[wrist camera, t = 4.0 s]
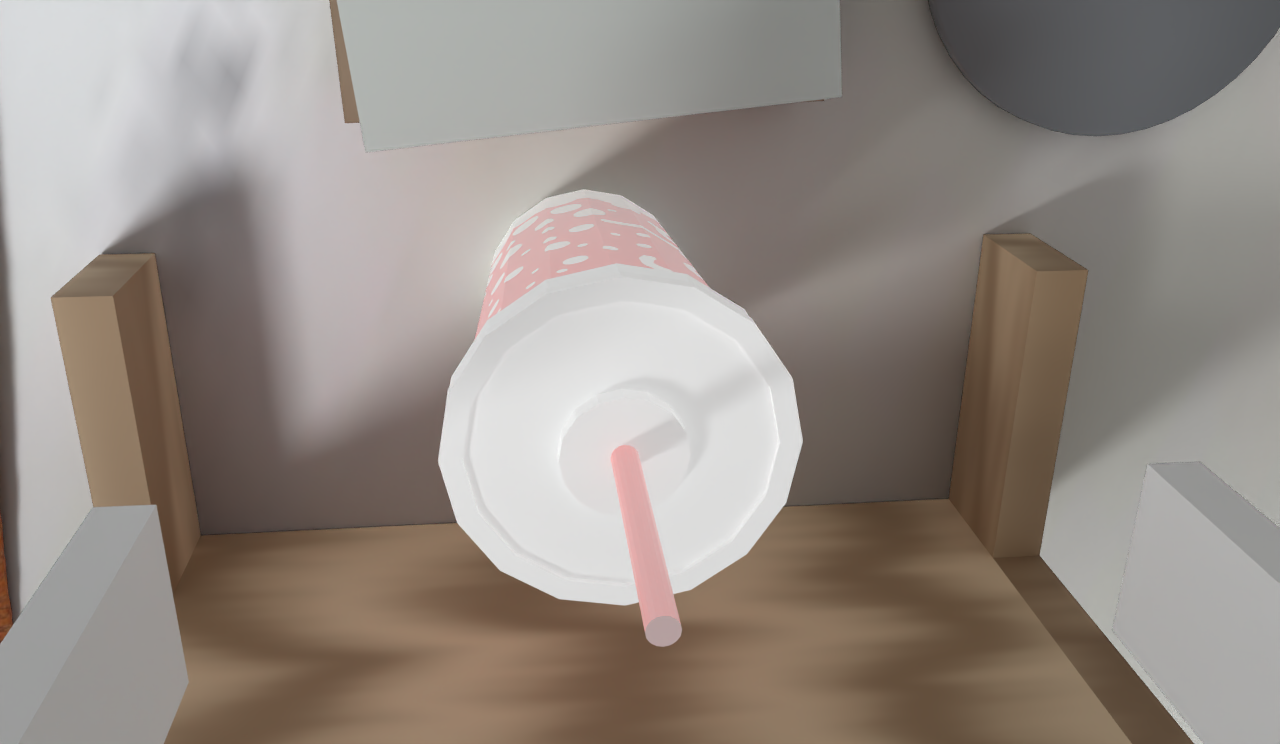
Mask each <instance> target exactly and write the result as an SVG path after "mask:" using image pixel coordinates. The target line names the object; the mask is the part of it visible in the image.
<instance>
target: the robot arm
mask: <svg viewBox="0 0 1280 744" xmlns="http://www.w3.org/2000/svg"><path fill="white" fill-rule="evenodd" d="M1112 631H1113V632H1114V633H1115V634H1116V636H1117V637H1118V638H1119V639H1120V641H1121V642H1122V643H1123V644H1124V646H1125V647H1126V648H1127V649H1128V651H1129V652H1130V653H1131V654H1132V656H1133V657H1134V658H1135V659H1136V660H1137V662H1138V663H1139V664H1140V665H1141V667H1142V668H1143V669H1144V670H1145V672H1146V673H1147V674H1148V675H1149V677H1150V678H1151V679H1152V680H1153V682H1154V683H1155V684H1156V685H1157V687H1158V688H1159V689H1160V690H1161V691H1162V693H1163V694H1164V695H1165V696H1166V698H1167V699H1168V700H1169V701H1170V703H1171V704H1172V705H1173V706H1174V708H1175V709H1176V710H1177V711H1178V713H1179V714H1180V715H1181V716H1182V718H1183V719H1184V720H1185V721H1186V722H1187V724H1188V725H1189V726H1190V727H1191V729H1192V730H1193V731H1194V732H1195V734H1196V735H1197V736H1198V737H1199V739H1200V740H1201V741H1202V742H1203V744H1280V528H1279V527H1278V526H1276V525H1275V524H1274V523H1273V522H1272V521H1270V520H1269V519H1268V518H1267V517H1266V516H1264V515H1263V514H1262V513H1261V512H1260V511H1258V510H1257V509H1256V508H1255V507H1254V506H1252V505H1251V504H1250V503H1249V502H1248V501H1247V500H1245V499H1244V498H1243V497H1242V496H1241V495H1239V494H1238V493H1237V492H1236V491H1235V490H1233V489H1232V488H1231V487H1230V486H1229V485H1227V484H1226V483H1225V482H1224V481H1223V480H1221V479H1220V478H1219V477H1218V476H1217V475H1215V474H1214V473H1213V472H1212V471H1211V470H1209V469H1208V468H1207V467H1206V466H1205V465H1203V464H1202V463H1201V462H1180V463H1156V464H1147V468H1146V473H1145V477H1144V482H1143V487H1142V491H1141V496H1140V501H1139V505H1138V510H1137V515H1136V519H1135V524H1134V529H1133V533H1132V538H1131V543H1130V548H1129V552H1128V557H1127V562H1126V566H1125V571H1124V576H1123V580H1122V585H1121V590H1120V594H1119V599H1118V604H1117V608H1116V613H1115V618H1114V622H1113V627H1112ZM188 683H189V680H188V675H187V669H186V664H185V658H184V653H183V647H182V642H181V636H180V631H179V625H178V620H177V615H176V609H175V604H174V598H173V593H172V587H171V582H170V576H169V571H168V565H167V560H166V554H165V549H164V543H163V538H162V533H161V527H160V522H159V516H158V511H157V505H136V506H112V507H93V508H92V509H91V511H90V512H89V514H88V515H87V517H86V518H85V520H84V521H83V523H82V524H81V526H80V527H79V529H78V530H77V531H76V533H75V534H74V536H73V537H72V539H71V540H70V542H69V543H68V545H67V546H66V548H65V549H64V551H63V552H62V554H61V555H60V557H59V558H58V559H57V561H56V562H55V564H54V565H53V567H52V568H51V570H50V571H49V573H48V574H47V576H46V577H45V579H44V580H43V582H42V583H41V585H40V586H39V587H38V589H37V590H36V592H35V593H34V595H33V596H32V598H31V599H30V601H29V602H28V604H27V605H26V607H25V608H24V610H23V611H22V613H21V614H20V616H19V617H18V618H17V620H16V621H15V623H14V624H13V626H12V627H11V629H10V630H9V632H8V633H7V635H6V636H5V638H4V639H3V641H2V642H1V644H0V744H164V742H165V739H166V737H167V734H168V732H169V729H170V727H171V725H172V722H173V720H174V717H175V715H176V712H177V710H178V707H179V705H180V703H181V700H182V698H183V695H184V693H185V690H186V688H187V685H188Z"/></svg>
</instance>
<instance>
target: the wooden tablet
mask: <svg viewBox="0 0 1280 744" xmlns="http://www.w3.org/2000/svg"><path fill="white" fill-rule="evenodd" d="M12 626H13V622H12V609H11V603H10V599H9V594H8V583H7V573H6V560H5V556H4V543H3V528H2V519H1V513H0V644H1V642H2V641H3V639H4V638H5V636H6V635H7V633H8V632H9V630H10V629H11V627H12Z"/></svg>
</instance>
